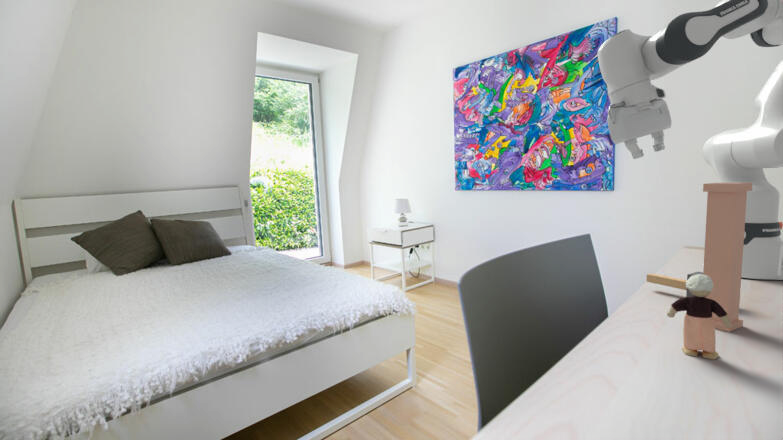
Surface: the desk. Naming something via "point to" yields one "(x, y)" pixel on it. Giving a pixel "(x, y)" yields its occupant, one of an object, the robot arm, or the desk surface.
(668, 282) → the mallet
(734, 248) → the stand
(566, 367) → the desk surface
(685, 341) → the grandmother figurine
